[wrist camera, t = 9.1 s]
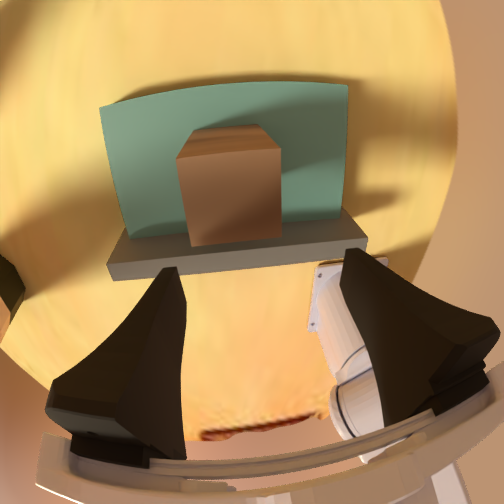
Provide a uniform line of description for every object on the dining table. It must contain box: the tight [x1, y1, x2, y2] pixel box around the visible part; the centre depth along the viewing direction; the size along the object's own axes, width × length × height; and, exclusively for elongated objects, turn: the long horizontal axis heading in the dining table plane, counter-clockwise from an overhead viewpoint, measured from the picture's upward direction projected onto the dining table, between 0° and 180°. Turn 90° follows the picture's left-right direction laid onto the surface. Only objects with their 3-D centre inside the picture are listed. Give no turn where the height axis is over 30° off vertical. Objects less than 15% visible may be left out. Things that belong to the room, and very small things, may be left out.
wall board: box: [99, 81, 368, 281], centre depth 17 cm, size 12×18×5 cm, turn 93°
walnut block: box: [176, 124, 282, 247], centre depth 14 cm, size 4×4×7 cm
